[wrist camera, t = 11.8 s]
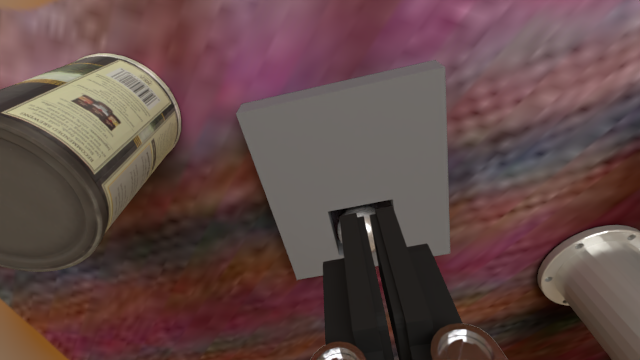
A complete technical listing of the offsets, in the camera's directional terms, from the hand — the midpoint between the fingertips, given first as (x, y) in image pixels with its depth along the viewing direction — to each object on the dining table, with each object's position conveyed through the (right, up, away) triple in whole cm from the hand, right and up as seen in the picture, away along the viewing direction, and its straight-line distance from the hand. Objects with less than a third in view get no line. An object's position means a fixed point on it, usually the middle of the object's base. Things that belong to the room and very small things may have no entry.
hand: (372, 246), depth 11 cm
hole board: (+2, +2, +23) cm, 24 cm away
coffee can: (-19, +8, +20) cm, 29 cm away
